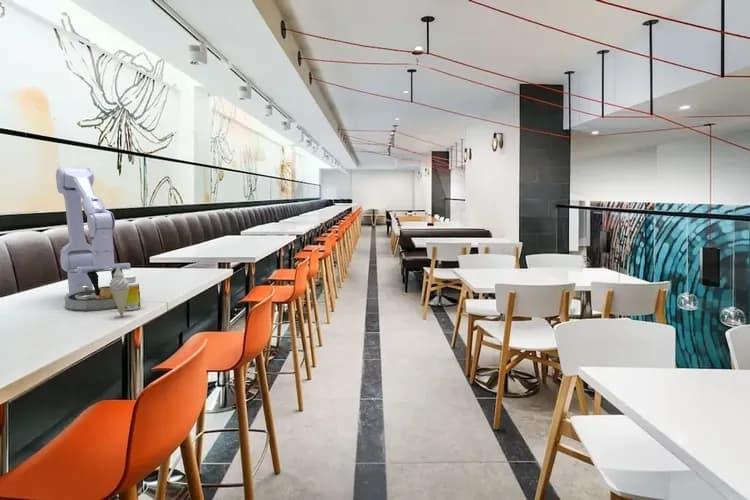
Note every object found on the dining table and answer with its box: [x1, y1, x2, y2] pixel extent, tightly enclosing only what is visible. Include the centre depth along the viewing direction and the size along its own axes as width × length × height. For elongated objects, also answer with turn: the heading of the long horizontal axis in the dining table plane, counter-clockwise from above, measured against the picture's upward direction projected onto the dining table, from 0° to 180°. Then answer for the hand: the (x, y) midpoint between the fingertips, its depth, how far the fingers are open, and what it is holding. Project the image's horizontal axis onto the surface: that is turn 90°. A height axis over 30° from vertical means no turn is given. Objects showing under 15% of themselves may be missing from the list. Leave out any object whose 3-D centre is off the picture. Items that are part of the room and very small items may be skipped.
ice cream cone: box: [108, 265, 129, 317], centre depth 142 cm, size 5×5×15 cm
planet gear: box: [95, 285, 114, 300], centre depth 155 cm, size 6×6×6 cm
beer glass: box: [124, 274, 141, 312], centre depth 151 cm, size 6×6×10 cm
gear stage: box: [64, 284, 141, 312], centre depth 159 cm, size 21×21×6 cm
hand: (106, 294), depth 155 cm, fingers closed on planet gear, 4 cm apart
